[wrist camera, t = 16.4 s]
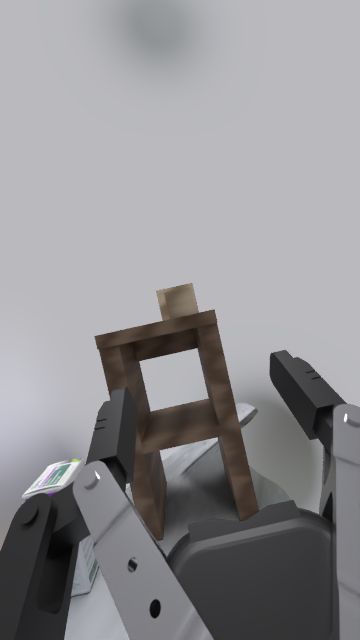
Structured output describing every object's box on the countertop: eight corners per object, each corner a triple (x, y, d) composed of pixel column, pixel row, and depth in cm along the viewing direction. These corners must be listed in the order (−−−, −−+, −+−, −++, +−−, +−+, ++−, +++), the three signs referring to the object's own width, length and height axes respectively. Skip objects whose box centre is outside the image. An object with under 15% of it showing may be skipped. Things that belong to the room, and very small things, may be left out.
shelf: (142, 547, 32) (94, 336, 32) (152, 484, 44) (117, 331, 44) (261, 519, 32) (214, 309, 32) (238, 464, 44) (204, 311, 44)
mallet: (151, 323, 20) (139, 270, 20) (164, 320, 40) (158, 294, 40) (214, 309, 20) (202, 256, 20) (196, 313, 40) (190, 287, 40)
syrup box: (90, 593, 28) (65, 483, 27) (45, 604, 28) (19, 494, 27) (106, 546, 33) (84, 455, 33) (68, 554, 33) (47, 463, 33)
